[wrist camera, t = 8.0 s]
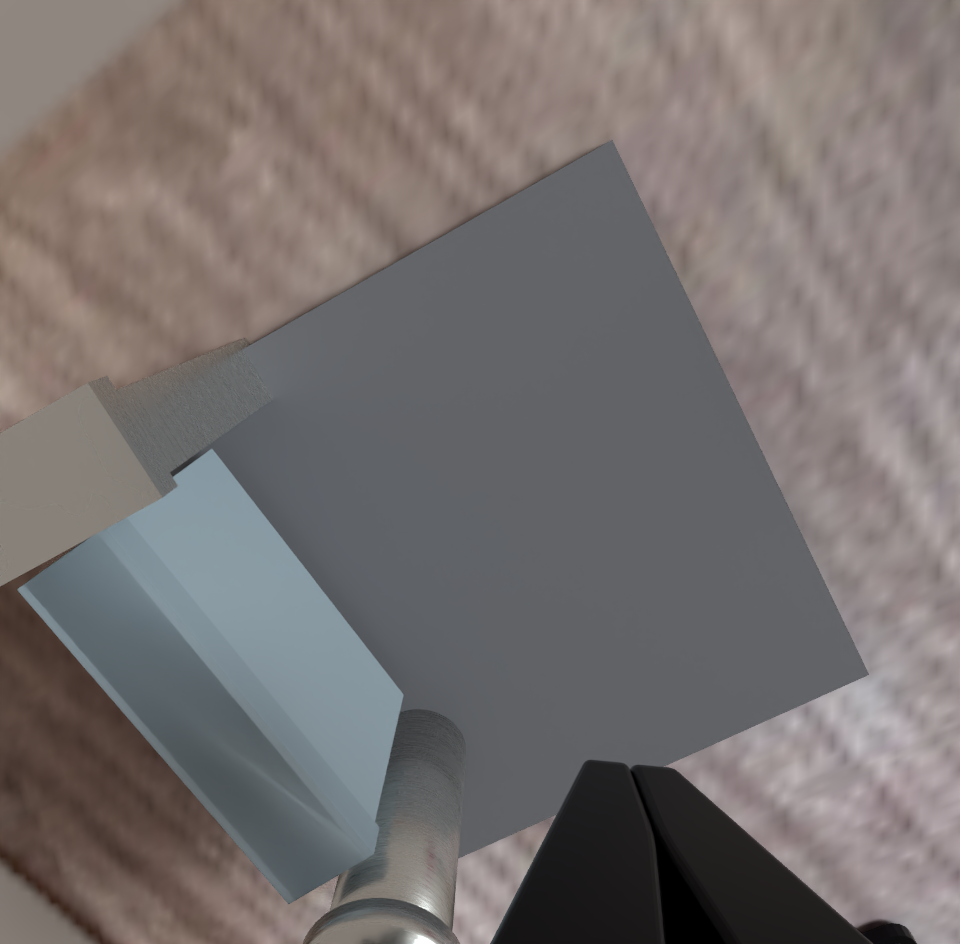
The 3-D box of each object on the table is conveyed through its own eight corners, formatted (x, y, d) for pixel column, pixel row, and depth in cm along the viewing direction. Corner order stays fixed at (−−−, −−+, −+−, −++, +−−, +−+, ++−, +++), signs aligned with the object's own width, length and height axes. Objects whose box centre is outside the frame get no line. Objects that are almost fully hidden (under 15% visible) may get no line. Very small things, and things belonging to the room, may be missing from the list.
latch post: (292, 398, 20) (162, 497, 12) (170, 465, 20) (-24, 599, 13) (247, 324, 19) (87, 382, 12) (125, 394, 20) (-102, 491, 12)
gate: (409, 691, 20) (373, 854, 15) (345, 731, 21) (288, 904, 15) (217, 444, 19) (104, 527, 14) (152, 490, 19) (16, 589, 14)
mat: (860, 664, 21) (869, 675, 20) (411, 866, 23) (409, 880, 22) (609, 141, 18) (611, 139, 18) (120, 419, 20) (111, 424, 19)
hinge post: (500, 761, 22) (496, 1030, 14) (400, 807, 22) (347, 1091, 15) (444, 668, 21) (410, 899, 14) (342, 717, 22) (257, 966, 14)
